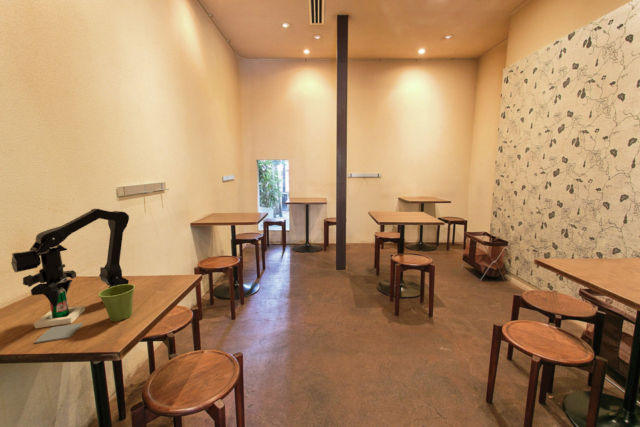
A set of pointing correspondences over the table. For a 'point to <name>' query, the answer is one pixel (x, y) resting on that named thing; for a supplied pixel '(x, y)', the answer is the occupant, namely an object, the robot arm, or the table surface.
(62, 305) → the soda can
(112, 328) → the table surface
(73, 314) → the block
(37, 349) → the table surface
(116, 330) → the table surface
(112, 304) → the plant pot
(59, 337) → the grey mat
